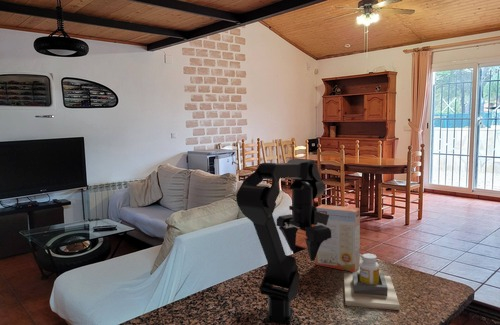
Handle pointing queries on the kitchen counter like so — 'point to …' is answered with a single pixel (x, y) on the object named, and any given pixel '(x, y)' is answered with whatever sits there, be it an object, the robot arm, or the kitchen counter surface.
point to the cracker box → (340, 238)
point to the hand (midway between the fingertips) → (302, 255)
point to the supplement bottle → (369, 270)
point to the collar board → (370, 292)
